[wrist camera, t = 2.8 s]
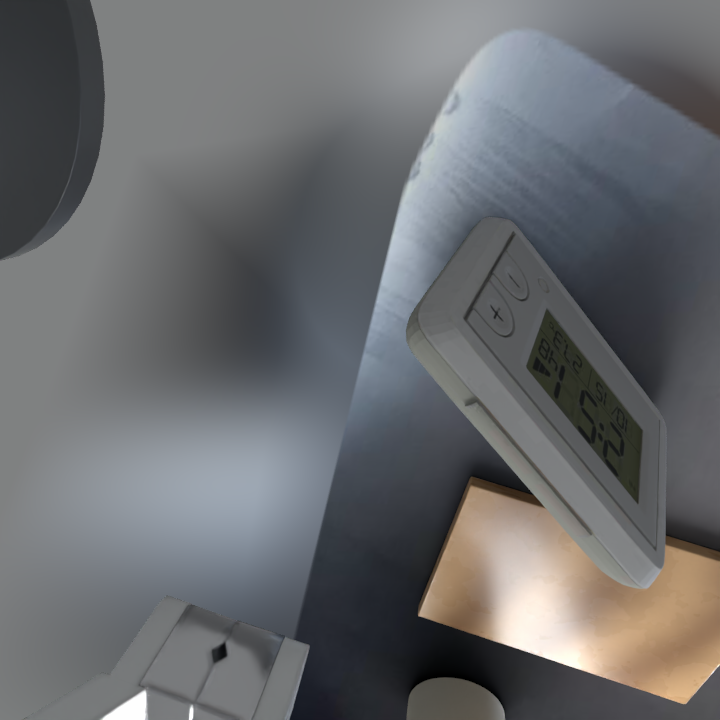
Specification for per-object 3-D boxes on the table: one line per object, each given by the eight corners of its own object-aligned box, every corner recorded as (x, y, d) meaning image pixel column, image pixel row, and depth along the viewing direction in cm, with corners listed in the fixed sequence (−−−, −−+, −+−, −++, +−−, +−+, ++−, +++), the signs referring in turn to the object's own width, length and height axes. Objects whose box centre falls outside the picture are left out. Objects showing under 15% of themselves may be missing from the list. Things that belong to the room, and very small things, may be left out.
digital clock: (666, 432, 29) (761, 576, 20) (517, 480, 32) (537, 623, 23) (556, 175, 25) (609, 199, 15) (398, 260, 28) (361, 323, 19)
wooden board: (418, 605, 39) (417, 616, 38) (470, 475, 33) (470, 484, 32) (680, 691, 37) (685, 705, 36) (783, 570, 31) (792, 583, 30)
